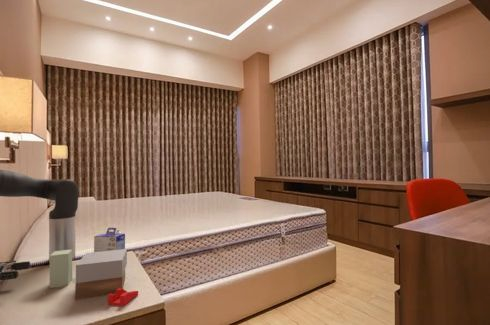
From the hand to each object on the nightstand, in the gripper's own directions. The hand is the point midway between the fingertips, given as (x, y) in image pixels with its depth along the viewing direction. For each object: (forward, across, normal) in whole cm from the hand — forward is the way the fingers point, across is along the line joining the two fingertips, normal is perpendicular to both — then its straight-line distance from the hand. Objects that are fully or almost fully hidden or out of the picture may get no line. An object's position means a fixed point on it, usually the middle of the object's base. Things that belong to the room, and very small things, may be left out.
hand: (24, 269), depth 82 cm
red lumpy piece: (+30, -20, +7) cm, 36 cm away
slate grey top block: (+23, -9, +1) cm, 25 cm away
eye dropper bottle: (+25, +20, +6) cm, 32 cm away
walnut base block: (+23, -9, +6) cm, 25 cm away
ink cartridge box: (+23, +10, +6) cm, 26 cm away
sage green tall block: (+10, 0, +6) cm, 12 cm away
